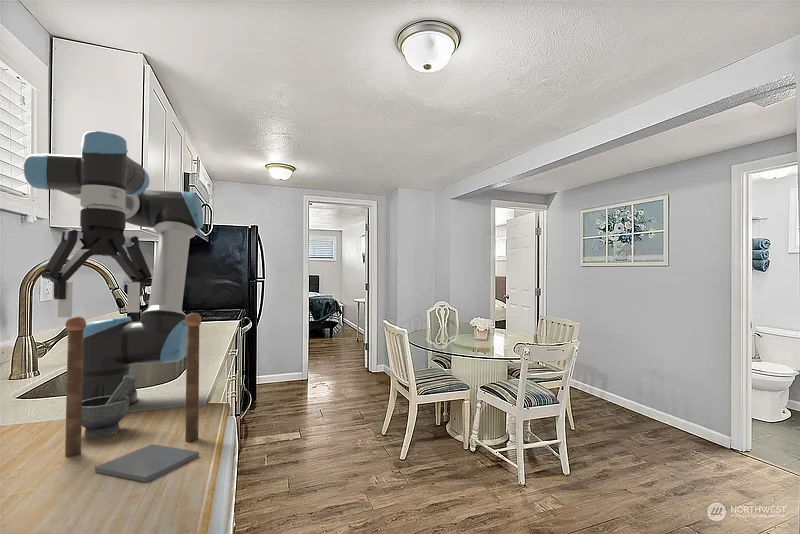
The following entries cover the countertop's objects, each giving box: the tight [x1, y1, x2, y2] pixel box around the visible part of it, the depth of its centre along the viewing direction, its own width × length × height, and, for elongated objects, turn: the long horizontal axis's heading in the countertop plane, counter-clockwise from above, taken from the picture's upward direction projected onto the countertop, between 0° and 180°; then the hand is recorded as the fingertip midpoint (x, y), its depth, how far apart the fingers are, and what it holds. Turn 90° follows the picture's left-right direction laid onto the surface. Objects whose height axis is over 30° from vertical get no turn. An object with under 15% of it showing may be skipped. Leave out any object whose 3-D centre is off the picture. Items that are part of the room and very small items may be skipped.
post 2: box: [184, 312, 202, 443], centre depth 88 cm, size 3×3×26 cm
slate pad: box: [94, 443, 200, 483], centre depth 76 cm, size 11×12×1 cm
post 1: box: [64, 315, 87, 457], centre depth 81 cm, size 3×3×26 cm
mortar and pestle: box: [82, 375, 138, 438], centre depth 93 cm, size 11×9×12 cm
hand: (101, 314), depth 84 cm, fingers open, 13 cm apart
